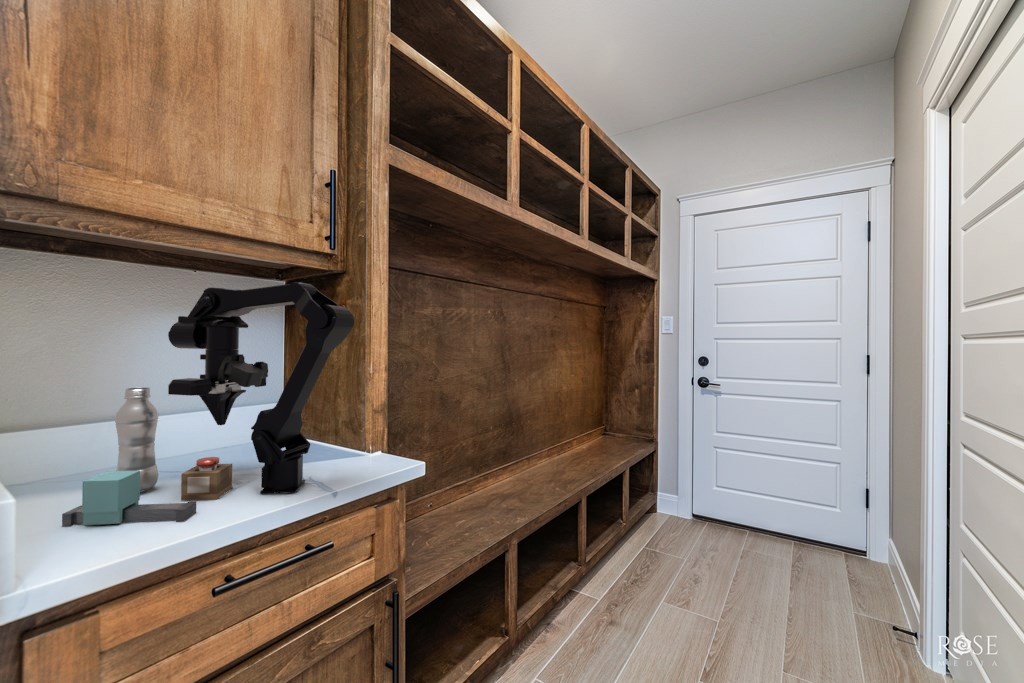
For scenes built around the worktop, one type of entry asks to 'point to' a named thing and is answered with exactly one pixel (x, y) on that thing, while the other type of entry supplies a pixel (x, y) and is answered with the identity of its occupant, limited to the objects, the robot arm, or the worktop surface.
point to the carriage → (109, 496)
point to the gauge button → (207, 463)
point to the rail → (141, 513)
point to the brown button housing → (206, 483)
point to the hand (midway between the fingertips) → (221, 424)
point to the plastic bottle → (137, 436)
